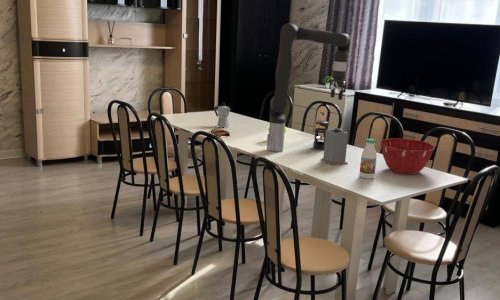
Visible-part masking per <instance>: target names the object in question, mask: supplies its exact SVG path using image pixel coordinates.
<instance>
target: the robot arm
mask: <svg viewBox="0 0 500 300" xmlns="http://www.w3.org/2000/svg"><path fill="white" fill-rule="evenodd" d="M279 40H280V41H279V50H278V56H277V61H276V67H275V68H276V69H275V90H274V91H275V92H274V95H273V97H271V99H270V103H269V128H268V129H269V130H268V134H267V138H266V139H267V140H266V150H268V151H269V152H277V153H279V152H283V151H284V141H285V129H286V109H287V107H288V97H289V96H288V95H289V94H288V93H289V87H290V82H291V79H292V72H293V66H294V64H293V63H294V61H293V53H292V51H293V43H294V41H298V40H299V41H301V40H302V41H309V42H314V43H318V44H323V45H324V44H325V45H331V46H334V47H335V46H336V47H337V48H336V51H335V52H334V58H333V64H332V71H331V72H332V73H331V78H330V79H329V87H328V89H329V90H330V98H335V96H336V95H335V94H336V89H337V90H338V96H337V100H339V101H340V100H343V96H344V95H343V94H345V93H346V90H347V81H344V80H345V79H346V75H347V66H348V65H347V63H348V62H347V61H348V53H349V49H350V46H351V37H350V35H349V34H347V33H341V32H340V33H339V32H331V31H328V30H320V29H309V28H304V27H301V26H298V25H296V24H294V23H285V24H283V25H282V27H281V28H280V39H279Z"/></svg>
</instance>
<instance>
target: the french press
mask: <svg viewBox="0 0 500 300" xmlns="http://www.w3.org/2000/svg"><path fill="white" fill-rule="evenodd" d="M319 114H321V115H322V116H324V115H325V114H327V112H326V111H325V112H324V111H320V112H319ZM314 122H315V125H319V126H321V127H315V128H314V141H313V143H312V145H313V146H312V148H313V149H314V148H315V150H319V149H322V150H321V151H324V144H325V133H326V130H331V129H330V128H323V127H329V125H330V121H327V120H324V117H322V119H321V120H315V121H314ZM319 133H320V136H319ZM322 134H324V136H323V135H322Z"/></svg>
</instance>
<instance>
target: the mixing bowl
mask: <svg viewBox="0 0 500 300" xmlns="http://www.w3.org/2000/svg"><path fill="white" fill-rule="evenodd" d="M379 143H380V147H381V152H382V156H383V160H384V162H385V165H386V166H387V168H388V169H390V170H391V171H392V172H393V173H396V174H399V175H416V174H419V173H420V172H421V171H422V170H423V169H424V168H425V167H426V165H427V164H428V162H429V161H430V159H431V158H432V155H433V152H434V150H435V149H436V146H435V145H433V144H432V143H430V142H426V141H422V140H417V139H410V138H385V139H381V140H380V142H379Z"/></svg>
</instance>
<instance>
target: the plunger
mask: <svg viewBox="0 0 500 300" xmlns="http://www.w3.org/2000/svg"><path fill="white" fill-rule="evenodd" d="M333 130H334V132H335V133H339V132H340V130H341V129H340V128H339V127H336V128H334V129H333Z"/></svg>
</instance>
